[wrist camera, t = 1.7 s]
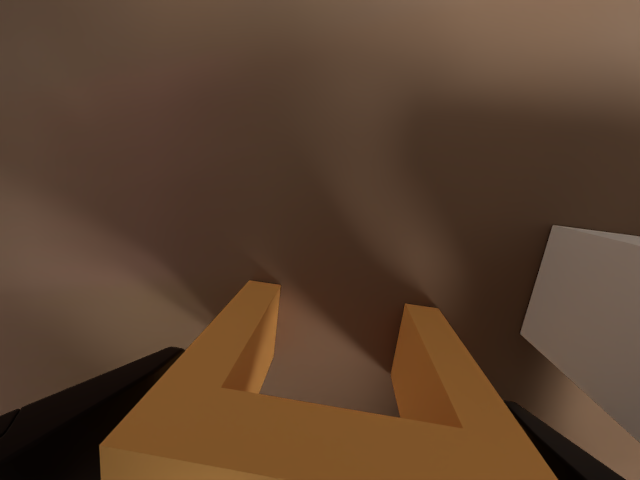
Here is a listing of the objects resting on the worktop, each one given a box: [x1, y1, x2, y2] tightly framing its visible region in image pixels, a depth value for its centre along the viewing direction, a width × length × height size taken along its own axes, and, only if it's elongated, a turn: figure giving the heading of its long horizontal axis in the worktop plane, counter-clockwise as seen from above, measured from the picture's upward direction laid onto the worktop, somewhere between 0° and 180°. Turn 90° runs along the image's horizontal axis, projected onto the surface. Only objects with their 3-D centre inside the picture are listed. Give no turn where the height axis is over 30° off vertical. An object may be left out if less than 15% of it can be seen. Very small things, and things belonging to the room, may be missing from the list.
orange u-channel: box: [99, 280, 558, 480], centre depth 8 cm, size 7×3×7 cm, turn 83°
